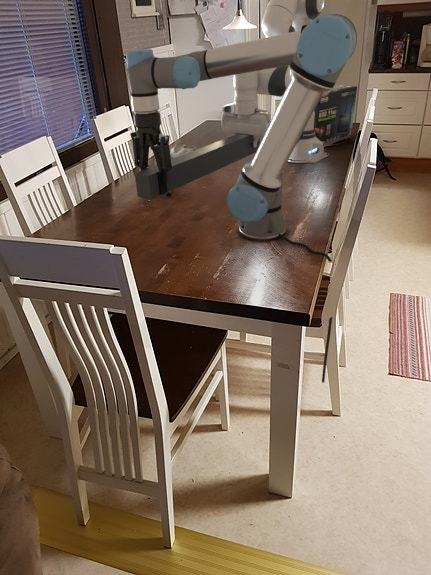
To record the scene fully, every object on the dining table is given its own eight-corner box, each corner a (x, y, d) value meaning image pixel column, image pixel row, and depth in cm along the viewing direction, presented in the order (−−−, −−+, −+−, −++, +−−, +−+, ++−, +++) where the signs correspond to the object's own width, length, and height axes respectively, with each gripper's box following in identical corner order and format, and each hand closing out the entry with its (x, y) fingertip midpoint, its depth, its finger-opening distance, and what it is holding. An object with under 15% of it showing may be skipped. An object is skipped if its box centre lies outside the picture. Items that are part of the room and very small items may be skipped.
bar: (151, 199, 136) (148, 175, 132) (137, 196, 138) (134, 173, 135) (259, 150, 177) (259, 131, 173) (247, 149, 180) (247, 130, 176)
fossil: (184, 156, 217) (163, 136, 220) (174, 174, 223) (154, 154, 227) (205, 153, 231) (186, 134, 234) (195, 171, 237) (176, 152, 240)
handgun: (149, 183, 197) (148, 178, 196) (167, 181, 198) (166, 176, 197) (152, 198, 180) (152, 194, 179) (172, 196, 181) (171, 191, 180)
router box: (314, 151, 231) (318, 94, 217) (296, 148, 237) (299, 92, 224) (352, 138, 251) (358, 85, 238) (335, 135, 258) (340, 83, 245)
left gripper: (180, 111, 126) (187, 192, 138) (133, 107, 136) (143, 183, 148) (161, 116, 121) (170, 200, 133) (114, 111, 131) (125, 189, 143)
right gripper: (275, 108, 163) (274, 147, 170) (228, 104, 174) (229, 141, 181) (265, 111, 159) (265, 151, 166) (218, 107, 170) (219, 144, 177)
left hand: (156, 191), depth 140 cm, fingers closed on bar, 6 cm apart
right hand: (246, 146), depth 174 cm, fingers closed on bar, 5 cm apart
